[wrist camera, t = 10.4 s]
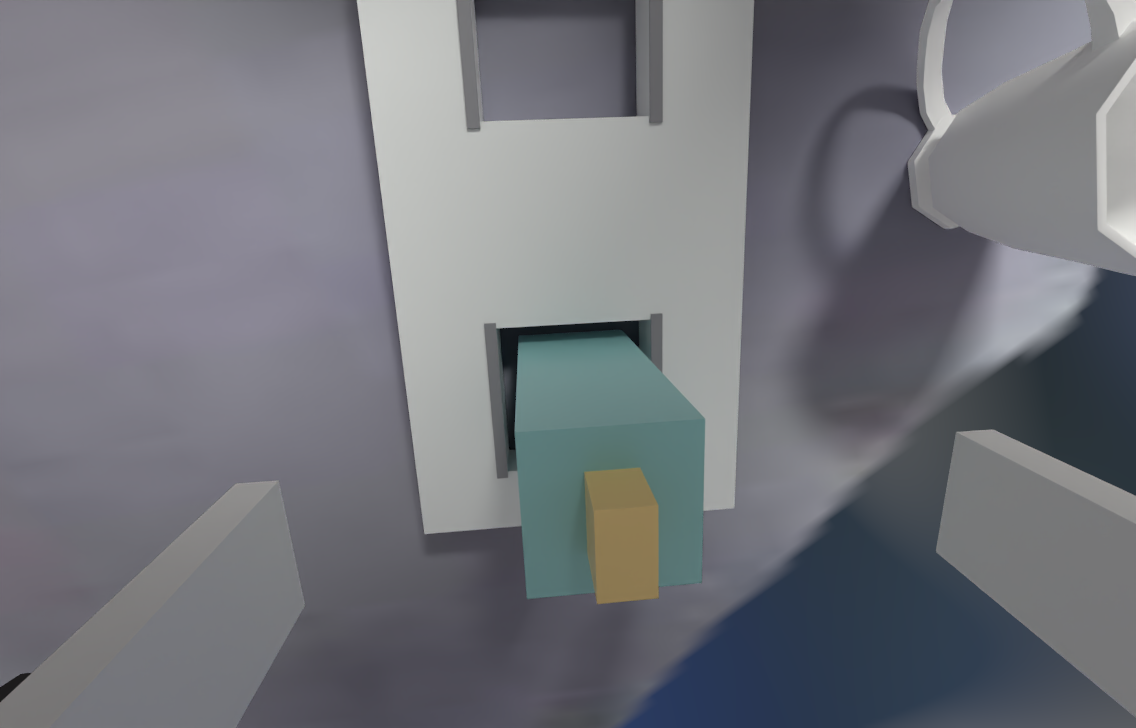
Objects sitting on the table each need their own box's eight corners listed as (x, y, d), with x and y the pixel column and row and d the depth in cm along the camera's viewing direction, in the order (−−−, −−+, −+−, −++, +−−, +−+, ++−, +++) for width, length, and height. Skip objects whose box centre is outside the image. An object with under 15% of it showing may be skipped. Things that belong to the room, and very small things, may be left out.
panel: (356, -133, 16) (332, -183, 14) (734, -133, 17) (762, -181, 15) (433, 507, 22) (424, 535, 20) (716, 484, 23) (735, 509, 21)
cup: (924, 299, 22) (1152, 339, 14) (797, 82, 19) (986, -18, 11) (1075, 186, 21) (1404, 163, 13) (964, -53, 18) (1287, -258, 11)
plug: (518, 335, 21) (512, 466, 9) (621, 329, 21) (734, 449, 10) (525, 432, 22) (527, 654, 10) (622, 425, 22) (727, 634, 11)
